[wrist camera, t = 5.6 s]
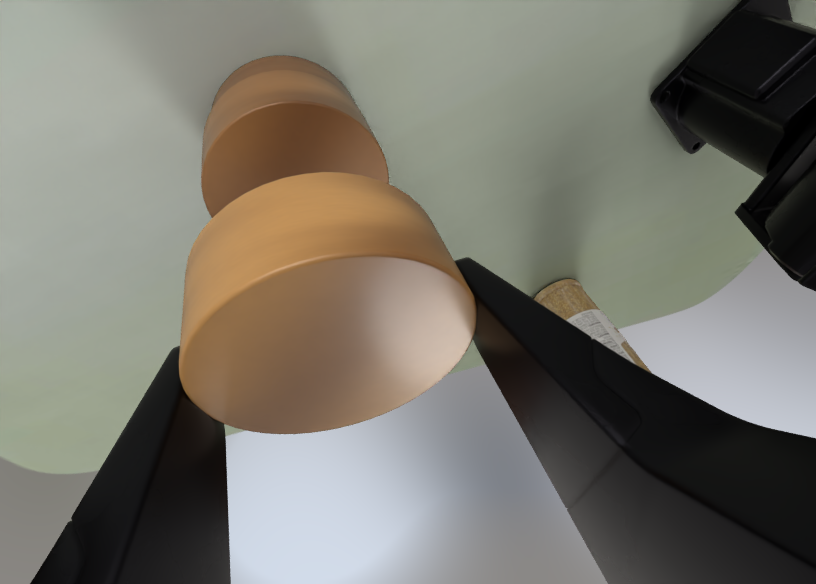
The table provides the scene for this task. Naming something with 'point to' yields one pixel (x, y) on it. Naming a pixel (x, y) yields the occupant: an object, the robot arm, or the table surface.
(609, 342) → the sprinkles bottle
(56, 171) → the table surface
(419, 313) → the oak chip
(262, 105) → the chip pile
